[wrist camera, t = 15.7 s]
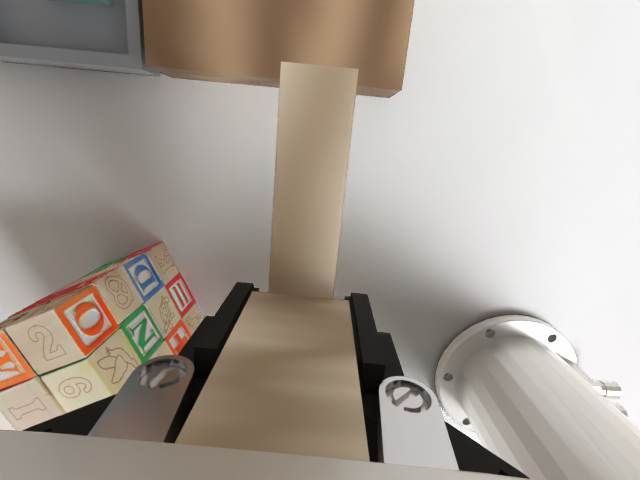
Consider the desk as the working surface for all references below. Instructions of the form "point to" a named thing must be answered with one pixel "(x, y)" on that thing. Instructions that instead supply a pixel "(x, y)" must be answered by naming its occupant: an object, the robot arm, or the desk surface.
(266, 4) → the brown wooden board
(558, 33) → the desk surface
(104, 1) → the teal block
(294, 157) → the scraper
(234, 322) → the robot arm
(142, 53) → the box
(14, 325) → the stack of blocks
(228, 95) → the desk surface
